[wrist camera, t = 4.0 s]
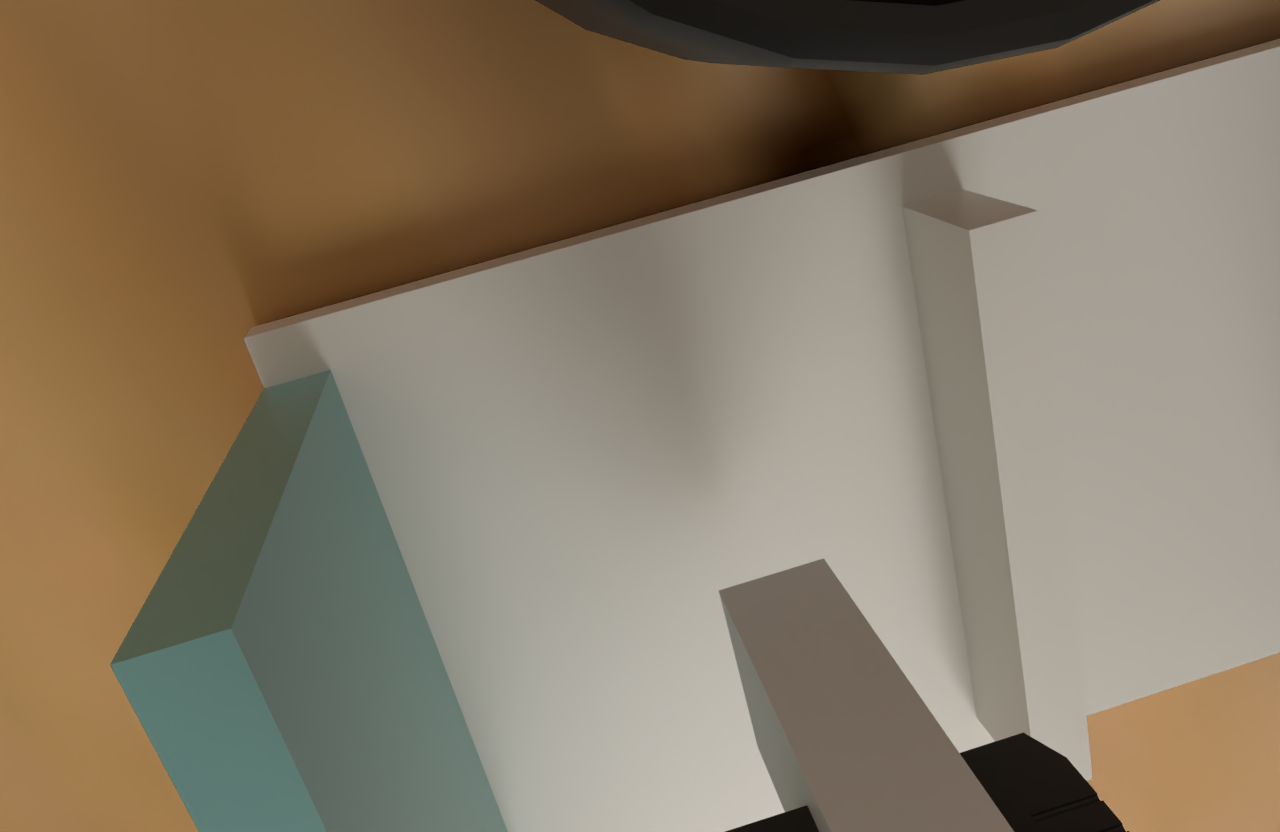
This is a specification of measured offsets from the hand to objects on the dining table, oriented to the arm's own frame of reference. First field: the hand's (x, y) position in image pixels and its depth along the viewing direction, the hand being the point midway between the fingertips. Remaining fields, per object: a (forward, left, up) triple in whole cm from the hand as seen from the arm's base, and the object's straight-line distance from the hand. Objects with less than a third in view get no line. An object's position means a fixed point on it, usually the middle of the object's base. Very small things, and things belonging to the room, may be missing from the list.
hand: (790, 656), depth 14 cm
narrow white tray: (+20, 0, -4) cm, 20 cm away
